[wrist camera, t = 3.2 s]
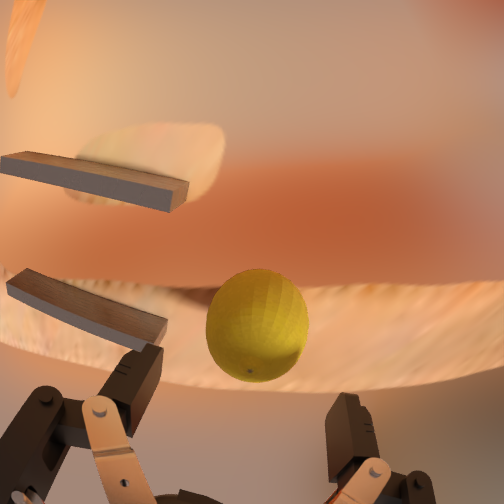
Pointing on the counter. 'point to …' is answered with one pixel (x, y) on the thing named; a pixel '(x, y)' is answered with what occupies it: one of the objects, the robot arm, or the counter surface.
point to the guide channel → (70, 298)
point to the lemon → (257, 326)
